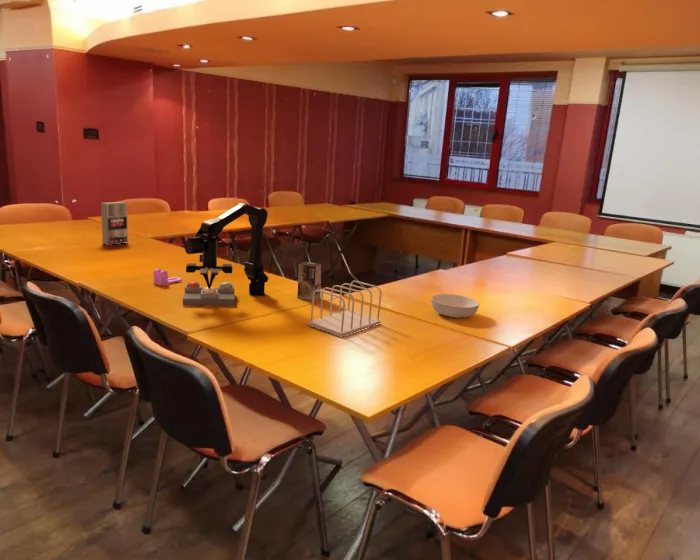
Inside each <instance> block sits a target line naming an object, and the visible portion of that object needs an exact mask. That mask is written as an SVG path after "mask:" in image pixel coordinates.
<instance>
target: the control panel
mask: <svg viewBox="0 0 700 560" xmlns="http://www.w3.org/2000/svg"><path fill="white" fill-rule="evenodd" d="M202 286H203V285H202V283H199V285H198V288H197V287H188V283H186V284H185V285H184V293H183V296H182V306H183V305H187V307H188V305H189V307H195V306H194V305H203V306H204V305H205V307H207V306H206V305H210V306H209V307H214V306H216V307H235V304H236V303H235V298H236V297H235V284H232V283H231V288H221V283H219V284H218V285H217V287H214V288H215V293H204V288H205V287H202ZM190 305H191V306H190ZM192 305H193V306H192ZM211 305H212V306H211ZM203 306H202V307H203Z"/></svg>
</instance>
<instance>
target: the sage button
mask: <svg viewBox="0 0 700 560" xmlns="http://www.w3.org/2000/svg"><path fill="white" fill-rule="evenodd" d="M220 284H221V288H231V284H232V282H230V281H222V282H221V283H220Z"/></svg>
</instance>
